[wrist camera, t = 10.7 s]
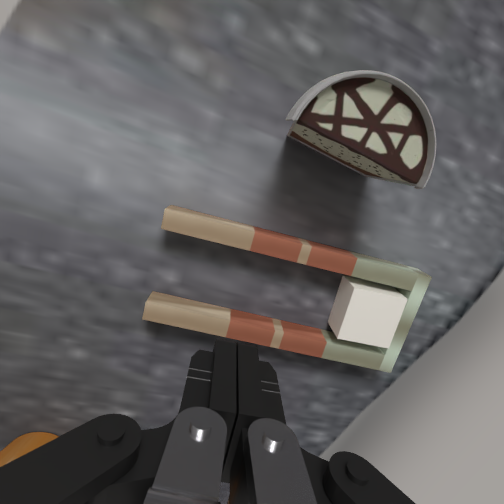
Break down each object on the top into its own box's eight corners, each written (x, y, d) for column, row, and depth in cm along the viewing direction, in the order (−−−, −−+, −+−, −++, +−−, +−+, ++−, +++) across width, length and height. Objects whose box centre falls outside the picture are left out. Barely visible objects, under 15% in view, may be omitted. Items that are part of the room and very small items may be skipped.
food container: (407, 127, 34) (476, 114, 24) (376, 182, 35) (430, 191, 26) (302, 68, 32) (331, 28, 22) (273, 128, 33) (289, 116, 24)
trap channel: (170, 204, 35) (164, 208, 32) (416, 268, 38) (431, 277, 35) (149, 307, 38) (142, 319, 35) (379, 357, 41) (390, 372, 38)
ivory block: (342, 274, 38) (354, 287, 34) (390, 285, 39) (407, 299, 35) (327, 321, 40) (337, 338, 36) (373, 330, 40) (388, 348, 36)
